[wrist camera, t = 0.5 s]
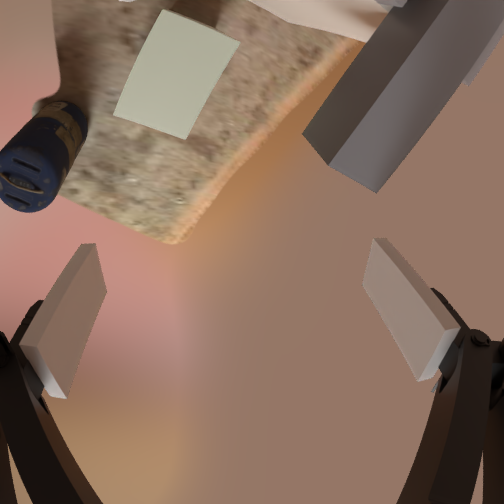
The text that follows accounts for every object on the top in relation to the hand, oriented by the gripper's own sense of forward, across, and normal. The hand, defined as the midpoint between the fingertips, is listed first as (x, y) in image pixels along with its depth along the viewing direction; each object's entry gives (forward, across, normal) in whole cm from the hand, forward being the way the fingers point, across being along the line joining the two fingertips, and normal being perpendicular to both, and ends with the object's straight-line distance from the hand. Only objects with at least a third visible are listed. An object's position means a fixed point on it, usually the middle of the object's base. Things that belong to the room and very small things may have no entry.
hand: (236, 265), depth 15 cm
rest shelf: (+34, -7, +14) cm, 37 cm away
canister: (+34, -25, +4) cm, 43 cm away
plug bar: (+3, +10, +13) cm, 17 cm away
